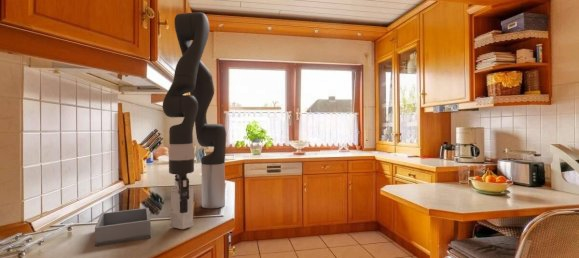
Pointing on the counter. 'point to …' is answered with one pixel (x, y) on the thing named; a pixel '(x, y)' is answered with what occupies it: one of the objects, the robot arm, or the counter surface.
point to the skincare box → (179, 218)
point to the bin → (122, 226)
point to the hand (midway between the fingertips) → (182, 209)
